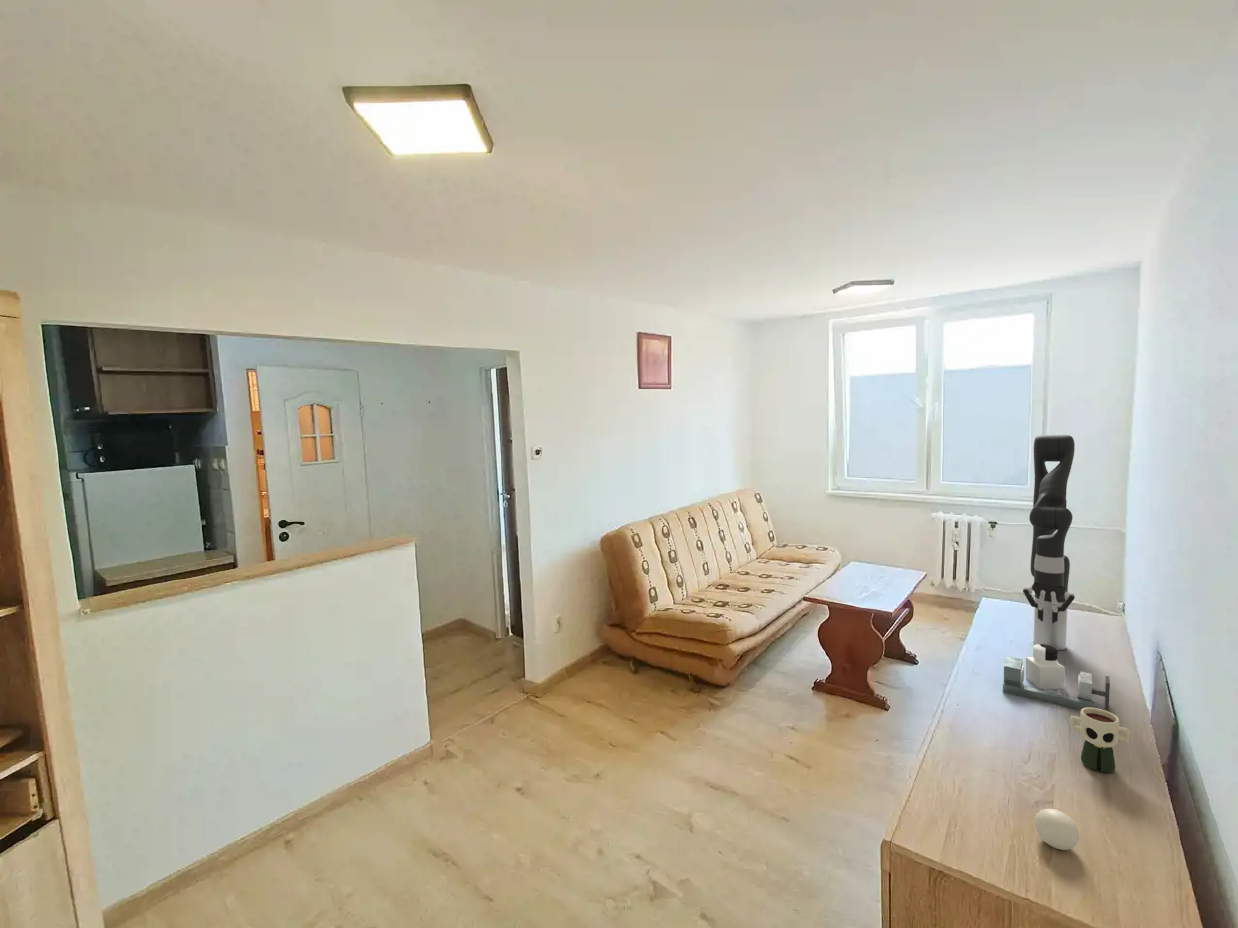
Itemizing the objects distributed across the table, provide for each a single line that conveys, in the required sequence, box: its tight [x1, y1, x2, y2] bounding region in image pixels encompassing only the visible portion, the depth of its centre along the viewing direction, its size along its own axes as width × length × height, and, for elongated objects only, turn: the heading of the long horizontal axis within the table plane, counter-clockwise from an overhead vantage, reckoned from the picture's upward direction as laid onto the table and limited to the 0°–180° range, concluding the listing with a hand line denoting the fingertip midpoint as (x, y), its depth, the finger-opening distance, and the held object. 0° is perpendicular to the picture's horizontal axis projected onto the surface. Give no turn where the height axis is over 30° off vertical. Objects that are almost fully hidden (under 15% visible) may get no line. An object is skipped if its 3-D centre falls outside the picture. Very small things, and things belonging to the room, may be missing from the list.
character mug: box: [1069, 707, 1131, 773], centre depth 133 cm, size 11×7×13 cm, turn 52°
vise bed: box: [1002, 656, 1097, 712], centre depth 166 cm, size 10×22×8 cm, turn 50°
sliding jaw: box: [1077, 671, 1111, 712], centre depth 160 cm, size 8×7×8 cm
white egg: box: [1034, 808, 1080, 851], centre depth 112 cm, size 7×7×7 cm
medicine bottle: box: [1025, 644, 1066, 690], centre depth 172 cm, size 7×7×12 cm
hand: (1047, 621), depth 178 cm, fingers open, 2 cm apart
